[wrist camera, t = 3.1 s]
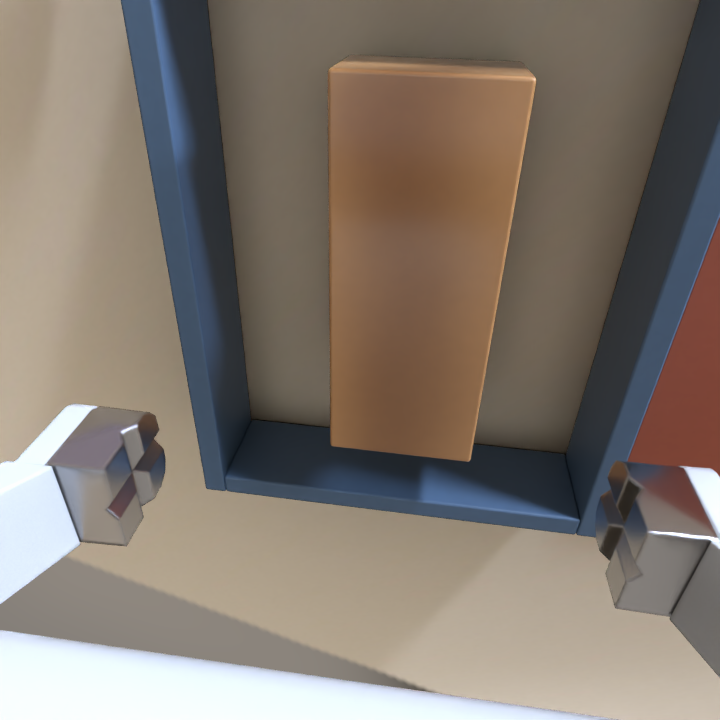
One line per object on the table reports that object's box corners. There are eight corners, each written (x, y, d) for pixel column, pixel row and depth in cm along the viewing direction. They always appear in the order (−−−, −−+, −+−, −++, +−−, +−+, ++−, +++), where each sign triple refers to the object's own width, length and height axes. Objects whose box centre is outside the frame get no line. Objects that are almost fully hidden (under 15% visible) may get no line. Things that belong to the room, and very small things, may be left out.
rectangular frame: (772, -123, 13) (861, -154, 10) (581, 470, 23) (599, 538, 20) (164, -127, 15) (92, -155, 12) (234, 430, 25) (205, 489, 22)
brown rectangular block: (518, 55, 16) (537, 76, 12) (468, 381, 22) (470, 463, 18) (356, 49, 16) (326, 67, 12) (351, 370, 22) (330, 447, 19)
